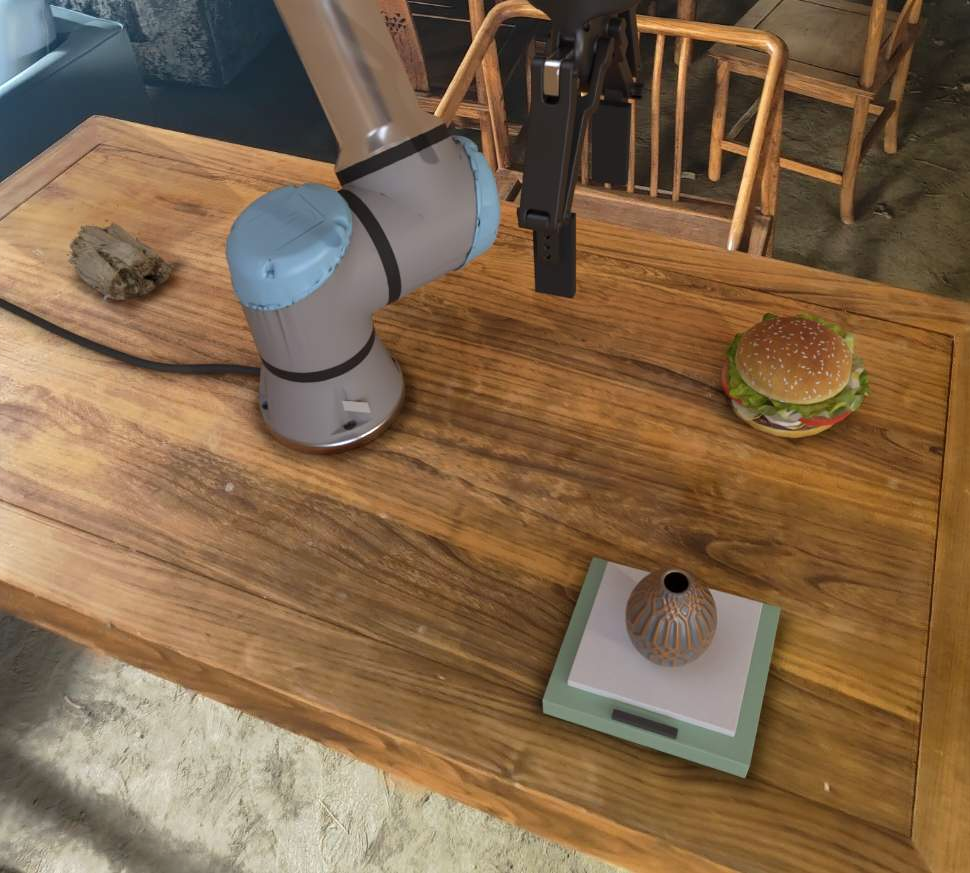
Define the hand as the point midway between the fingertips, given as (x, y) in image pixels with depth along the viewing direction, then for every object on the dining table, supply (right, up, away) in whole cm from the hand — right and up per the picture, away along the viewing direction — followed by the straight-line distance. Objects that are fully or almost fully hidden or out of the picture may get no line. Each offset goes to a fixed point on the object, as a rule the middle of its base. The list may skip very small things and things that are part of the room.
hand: (584, 233), depth 68 cm
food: (+24, -11, +26) cm, 37 cm away
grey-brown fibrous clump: (-52, +5, +47) cm, 71 cm away
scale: (+7, -34, +8) cm, 35 cm away
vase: (+7, -31, +6) cm, 33 cm away
